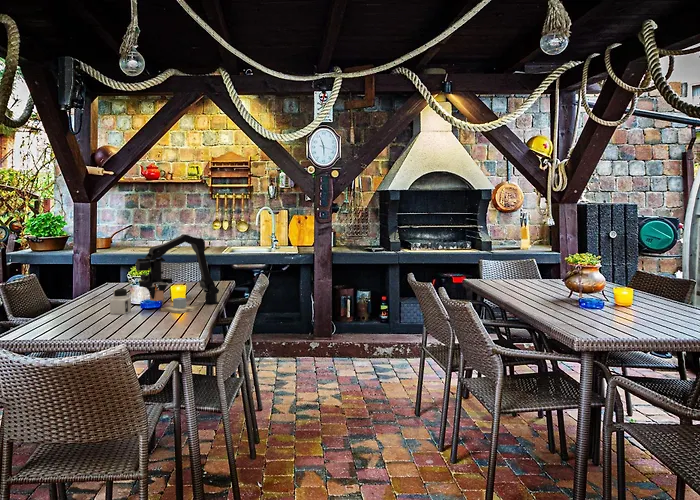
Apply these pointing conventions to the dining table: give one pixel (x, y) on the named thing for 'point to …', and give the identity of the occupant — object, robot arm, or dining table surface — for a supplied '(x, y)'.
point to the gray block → (179, 303)
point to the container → (120, 302)
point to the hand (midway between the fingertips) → (156, 298)
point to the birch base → (179, 311)
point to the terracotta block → (157, 295)
